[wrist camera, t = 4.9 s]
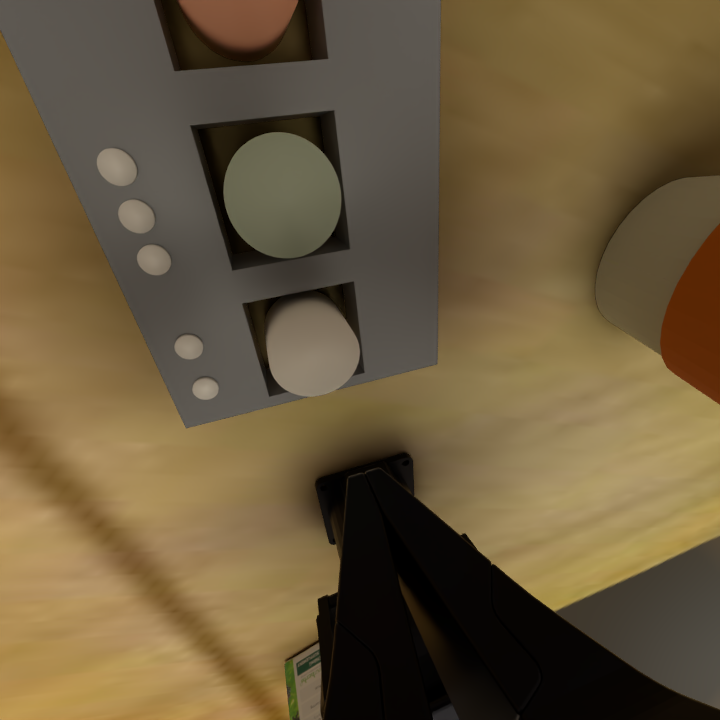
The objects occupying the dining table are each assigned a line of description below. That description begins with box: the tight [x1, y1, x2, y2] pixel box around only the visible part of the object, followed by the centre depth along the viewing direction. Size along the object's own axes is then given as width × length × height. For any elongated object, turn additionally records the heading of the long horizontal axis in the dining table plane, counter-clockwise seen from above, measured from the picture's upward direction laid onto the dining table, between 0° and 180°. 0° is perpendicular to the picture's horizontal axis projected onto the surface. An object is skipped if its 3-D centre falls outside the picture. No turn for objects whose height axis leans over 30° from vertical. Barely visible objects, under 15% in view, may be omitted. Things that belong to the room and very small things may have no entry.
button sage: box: [223, 132, 341, 258], centre depth 13 cm, size 4×4×3 cm
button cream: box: [264, 290, 360, 397], centre depth 16 cm, size 4×4×3 cm
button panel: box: [0, 0, 441, 428], centre depth 14 cm, size 17×12×3 cm
